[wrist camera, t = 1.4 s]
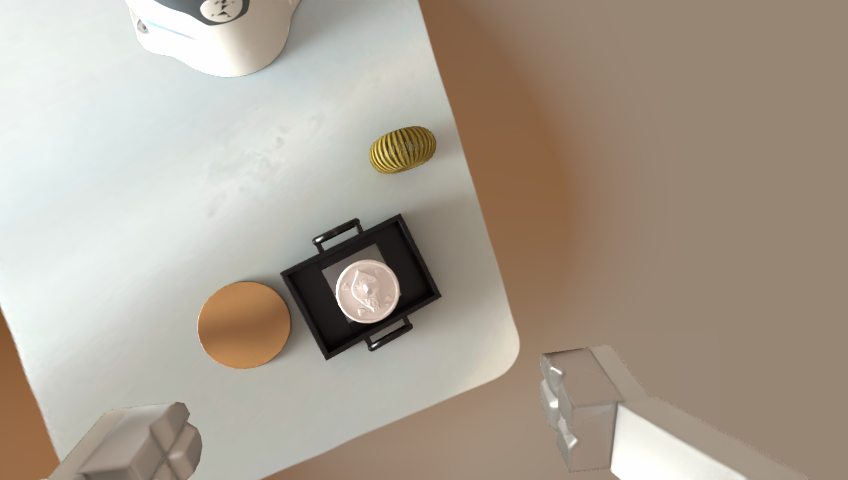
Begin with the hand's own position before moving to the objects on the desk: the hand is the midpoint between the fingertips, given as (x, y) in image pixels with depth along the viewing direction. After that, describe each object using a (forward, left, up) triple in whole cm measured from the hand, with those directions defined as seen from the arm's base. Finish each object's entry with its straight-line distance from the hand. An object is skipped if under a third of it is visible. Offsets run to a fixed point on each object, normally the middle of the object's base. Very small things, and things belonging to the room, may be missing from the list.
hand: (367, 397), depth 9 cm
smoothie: (+2, +2, -40) cm, 41 cm away
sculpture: (-10, +13, -40) cm, 44 cm away
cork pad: (0, -12, -40) cm, 42 cm away
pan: (+2, +2, -40) cm, 40 cm away
